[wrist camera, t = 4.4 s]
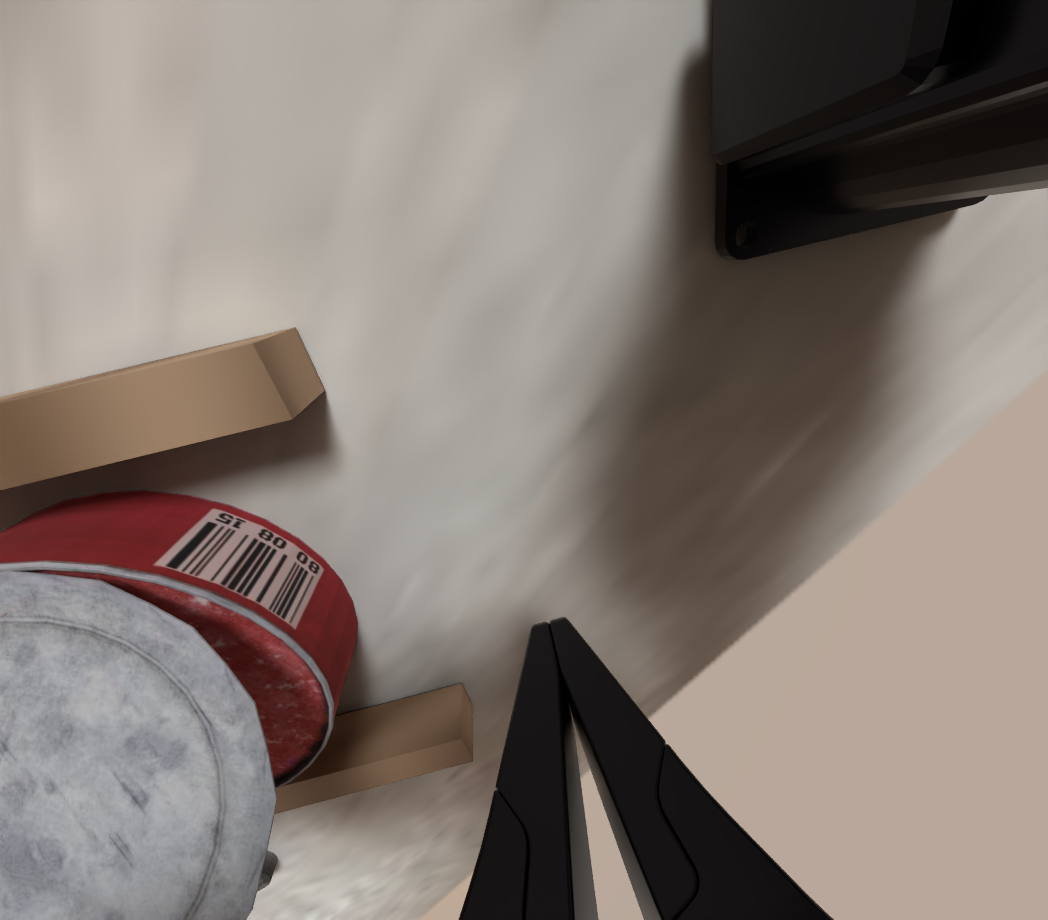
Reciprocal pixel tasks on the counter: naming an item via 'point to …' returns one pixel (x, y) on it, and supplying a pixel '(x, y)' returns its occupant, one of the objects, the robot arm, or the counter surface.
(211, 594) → the canned food
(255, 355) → the guide channel
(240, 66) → the counter surface
